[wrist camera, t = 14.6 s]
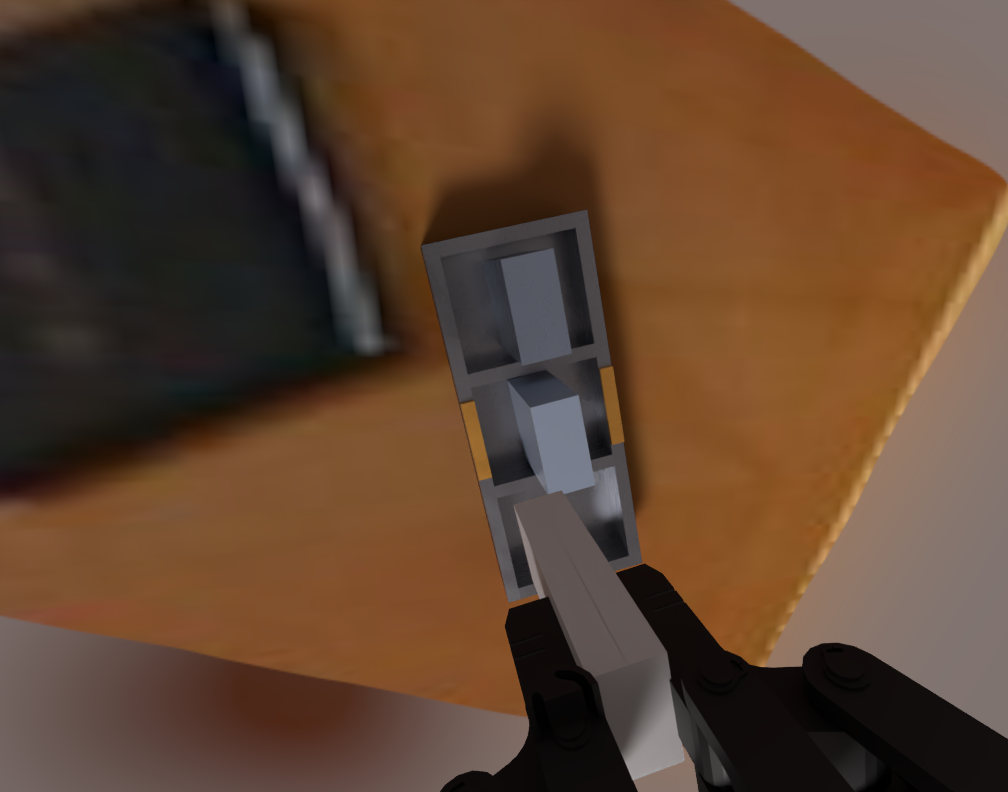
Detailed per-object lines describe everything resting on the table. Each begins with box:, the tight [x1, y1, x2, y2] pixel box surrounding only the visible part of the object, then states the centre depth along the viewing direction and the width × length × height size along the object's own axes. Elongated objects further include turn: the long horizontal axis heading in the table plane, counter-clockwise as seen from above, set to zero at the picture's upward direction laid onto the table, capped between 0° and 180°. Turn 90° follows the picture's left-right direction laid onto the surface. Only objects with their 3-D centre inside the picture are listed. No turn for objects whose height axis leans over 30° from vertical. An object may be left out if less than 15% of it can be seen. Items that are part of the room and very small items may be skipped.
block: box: [508, 371, 595, 494], centre depth 37 cm, size 6×3×8 cm, turn 13°
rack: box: [420, 210, 642, 602], centre depth 38 cm, size 28×11×9 cm, turn 12°
